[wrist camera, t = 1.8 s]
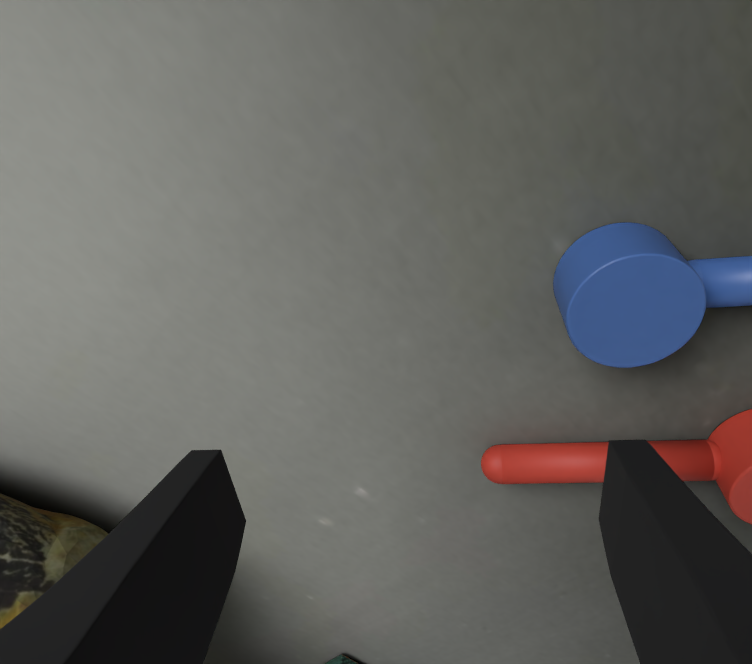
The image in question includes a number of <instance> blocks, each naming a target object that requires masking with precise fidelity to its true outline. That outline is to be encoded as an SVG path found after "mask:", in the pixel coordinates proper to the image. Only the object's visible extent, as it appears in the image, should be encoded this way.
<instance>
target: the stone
mask: <svg viewBox="0 0 752 664" xmlns="http://www.w3.org/2000/svg"><path fill="white" fill-rule="evenodd" d="M107 535H108V533H107V532H106V531H104V530H103V529H102V528H100V527H98V526H96V525H94V524H92V523H90V522H87V521H85V520H83V519H80V518H77V517H75V516H71V515H67V514H62V513H55V512H50V511H46V510H42V509H38V508H34V507H31V506H29V505H27V504H24V503H22V502H20V501H18V500H15V499H13V498H11V497H8V496H5V495H3V494H0V629H1V628H2V627H4V626H5V625H6V624H7V623H9V622H10V621H11V620H12V619H13V618H15V617H16V616H17V615H18V614H20V613H21V612H22V611H23V610H25V609H26V608H27V607H28V606H29V605H31V604H32V603H33V602H34V601H35V600H37V599H38V598H39V597H40V596H41V595H42V594H44V593H45V592H46V591H47V590H48V589H49V588H51V587H52V586H53V585H54V584H55V583H56V582H57V581H58V580H60V579H61V578H62V577H63V576H64V575H65V574H66V573H67V572H68V571H69V570H70V569H71V568H73V567H74V566H75V565H76V564H77V563H78V562H79V561H80V560H81V559H82V558H83V557H84V556H85V555H87V554H88V553H89V552H90V551H91V550H92V549H93V548H94V547H95V546H96V545H97V544H98V543H100V542H101V541H102V540H103V539H104V538H105V537H106V536H107Z"/></svg>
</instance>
